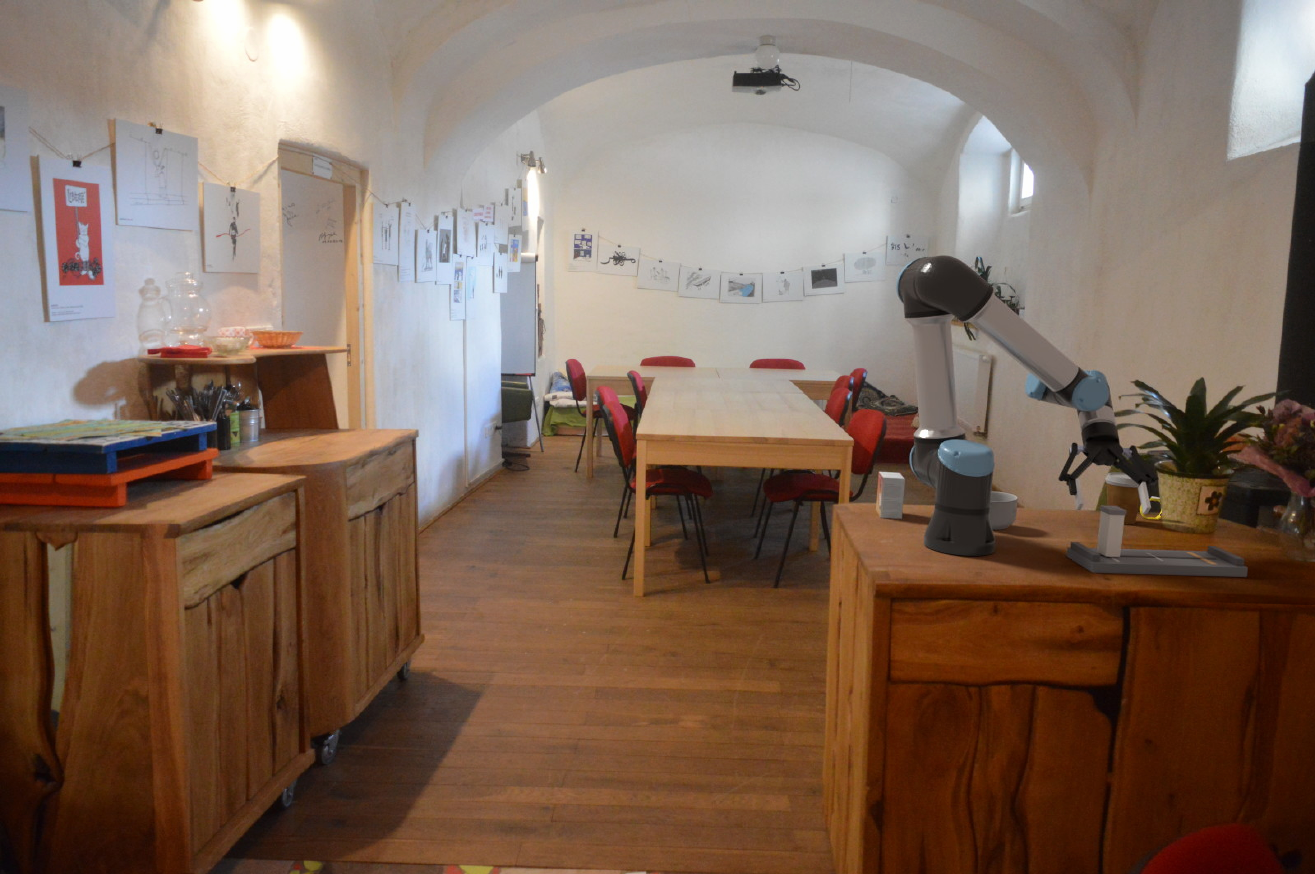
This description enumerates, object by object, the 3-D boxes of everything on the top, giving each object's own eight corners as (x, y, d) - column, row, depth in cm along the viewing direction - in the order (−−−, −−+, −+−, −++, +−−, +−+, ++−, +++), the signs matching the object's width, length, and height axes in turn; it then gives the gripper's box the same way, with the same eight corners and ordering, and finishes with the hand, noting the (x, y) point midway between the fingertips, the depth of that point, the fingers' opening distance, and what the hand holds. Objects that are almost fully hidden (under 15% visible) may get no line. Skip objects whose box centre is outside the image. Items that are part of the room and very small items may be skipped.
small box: (875, 510, 238) (878, 471, 237) (897, 512, 238) (900, 472, 236) (879, 518, 230) (882, 477, 229) (902, 519, 230) (905, 478, 228)
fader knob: (1105, 556, 191) (1110, 510, 190) (1095, 550, 196) (1100, 505, 194) (1121, 557, 191) (1126, 510, 190) (1111, 551, 196) (1116, 505, 194)
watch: (1159, 519, 240) (1163, 497, 239) (1164, 521, 237) (1169, 499, 236) (1136, 517, 240) (1140, 494, 239) (1142, 519, 237) (1146, 497, 236)
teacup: (1021, 533, 219) (1024, 500, 218) (976, 531, 220) (979, 499, 218) (1001, 519, 233) (1004, 488, 232) (958, 517, 233) (961, 487, 232)
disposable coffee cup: (1138, 519, 238) (1143, 474, 236) (1145, 527, 229) (1150, 480, 227) (1098, 515, 241) (1103, 471, 239) (1103, 523, 232) (1108, 477, 230)
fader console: (1092, 572, 188) (1094, 556, 187) (1066, 556, 200) (1067, 540, 199) (1246, 576, 188) (1248, 560, 188) (1211, 560, 200) (1213, 544, 200)
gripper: (1151, 441, 211) (1168, 521, 199) (1037, 436, 214) (1048, 514, 202) (1162, 422, 205) (1181, 503, 193) (1045, 417, 208) (1057, 496, 196)
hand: (1113, 509), depth 197 cm, fingers open, 13 cm apart
